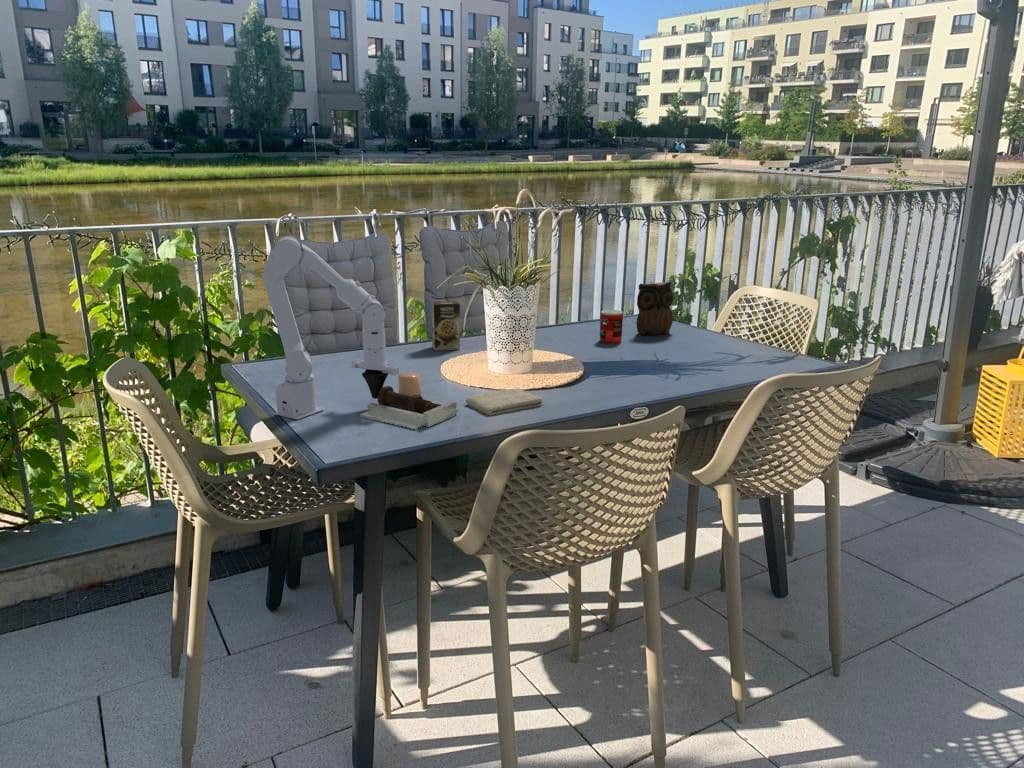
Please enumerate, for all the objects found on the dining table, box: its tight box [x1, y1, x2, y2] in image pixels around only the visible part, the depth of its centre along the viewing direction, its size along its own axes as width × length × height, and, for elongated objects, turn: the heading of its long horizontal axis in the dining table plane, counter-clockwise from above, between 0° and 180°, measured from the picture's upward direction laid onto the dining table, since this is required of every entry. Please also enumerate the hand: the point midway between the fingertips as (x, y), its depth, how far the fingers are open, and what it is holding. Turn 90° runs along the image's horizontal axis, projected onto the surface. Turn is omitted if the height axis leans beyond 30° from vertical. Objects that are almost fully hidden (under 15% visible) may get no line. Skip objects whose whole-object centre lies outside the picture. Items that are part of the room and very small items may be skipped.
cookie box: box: [431, 300, 461, 352], centre depth 260 cm, size 9×6×16 cm
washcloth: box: [465, 387, 544, 416], centre depth 200 cm, size 12×18×3 cm, turn 124°
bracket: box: [359, 398, 460, 431], centre depth 191 cm, size 18×20×4 cm
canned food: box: [599, 309, 624, 345], centre depth 273 cm, size 8×8×11 cm
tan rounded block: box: [397, 371, 422, 396], centre depth 206 cm, size 6×6×6 cm
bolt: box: [377, 385, 433, 413], centre depth 194 cm, size 6×5×15 cm
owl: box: [636, 281, 675, 337], centre depth 284 cm, size 13×13×20 cm
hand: (376, 397), depth 197 cm, fingers closed
